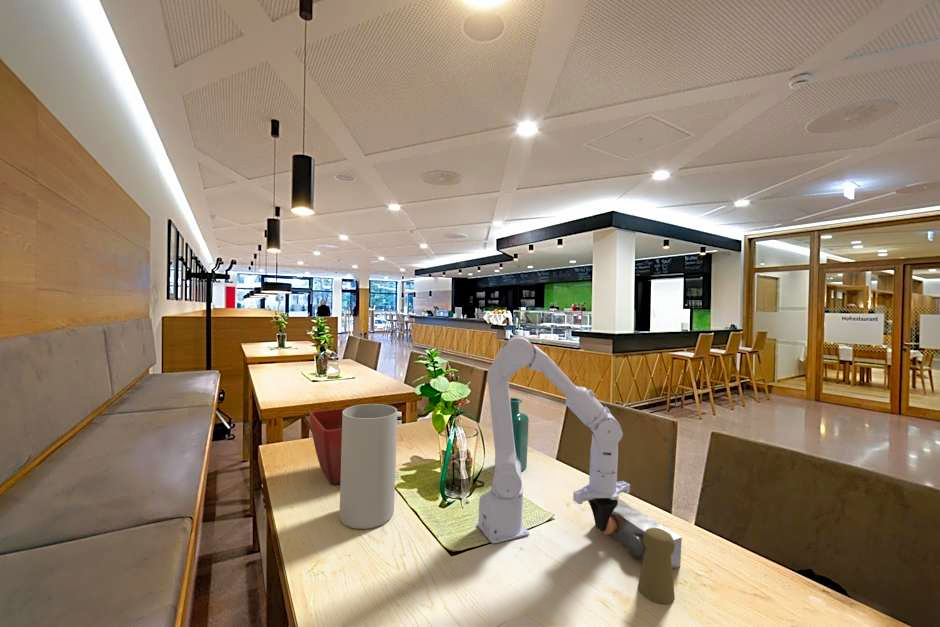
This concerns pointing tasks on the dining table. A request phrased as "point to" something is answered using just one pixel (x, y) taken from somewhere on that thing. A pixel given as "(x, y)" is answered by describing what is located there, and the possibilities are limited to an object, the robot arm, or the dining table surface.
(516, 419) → the green bottle
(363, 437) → the cylinder vase
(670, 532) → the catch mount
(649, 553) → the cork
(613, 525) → the terracotta knob
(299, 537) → the dining table surface
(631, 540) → the gray knob
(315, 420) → the plant pot
